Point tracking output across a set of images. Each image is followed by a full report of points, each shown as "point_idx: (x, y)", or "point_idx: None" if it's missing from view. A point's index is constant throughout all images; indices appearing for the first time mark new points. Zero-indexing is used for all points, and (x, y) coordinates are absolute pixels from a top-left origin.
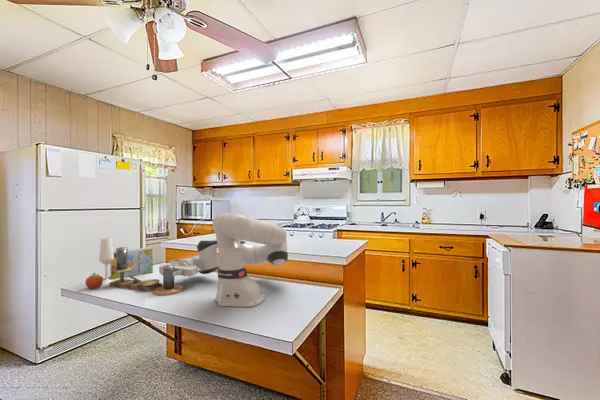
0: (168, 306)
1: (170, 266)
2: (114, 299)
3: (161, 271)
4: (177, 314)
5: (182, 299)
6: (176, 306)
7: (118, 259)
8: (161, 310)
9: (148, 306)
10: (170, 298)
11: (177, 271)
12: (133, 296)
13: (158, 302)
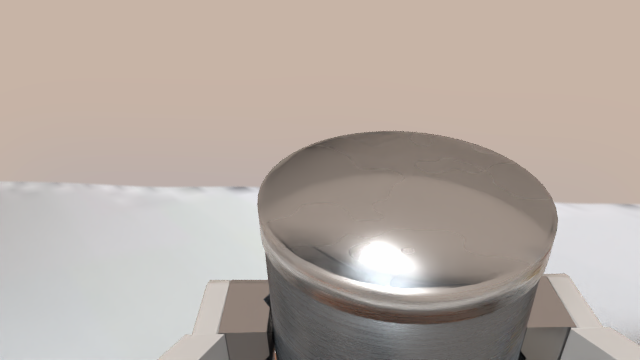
0: (106, 227)
1: (320, 179)
2: (588, 210)
3: (554, 274)
4: (3, 183)
5: (34, 340)
6: (44, 238)
7: None
8: (124, 190)
9: (245, 201)
10: (173, 327)
11: (174, 347)
12: (546, 273)
13: (224, 249)
